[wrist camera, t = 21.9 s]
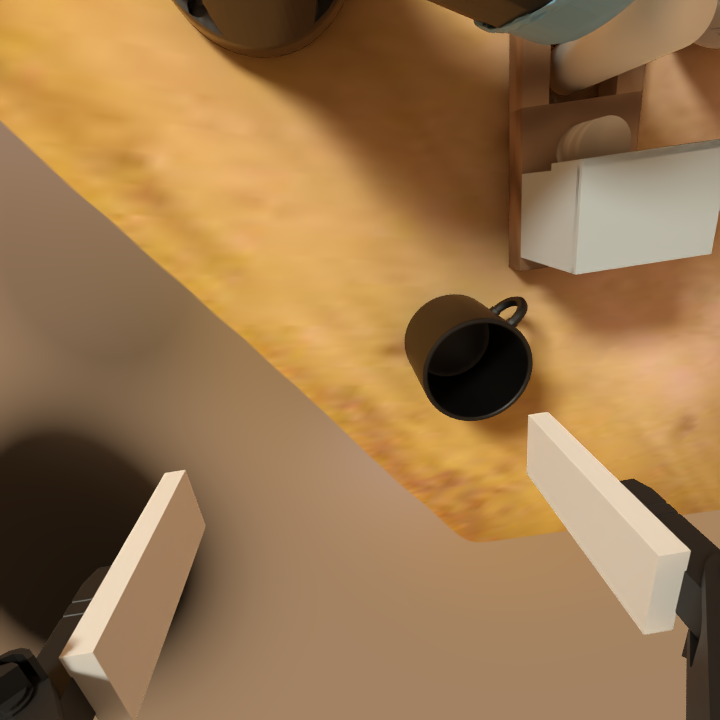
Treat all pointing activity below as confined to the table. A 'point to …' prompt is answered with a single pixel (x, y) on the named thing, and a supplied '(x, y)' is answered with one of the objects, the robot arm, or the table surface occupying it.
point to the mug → (469, 355)
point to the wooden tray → (561, 126)
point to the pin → (628, 42)
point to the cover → (622, 208)
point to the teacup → (712, 32)
